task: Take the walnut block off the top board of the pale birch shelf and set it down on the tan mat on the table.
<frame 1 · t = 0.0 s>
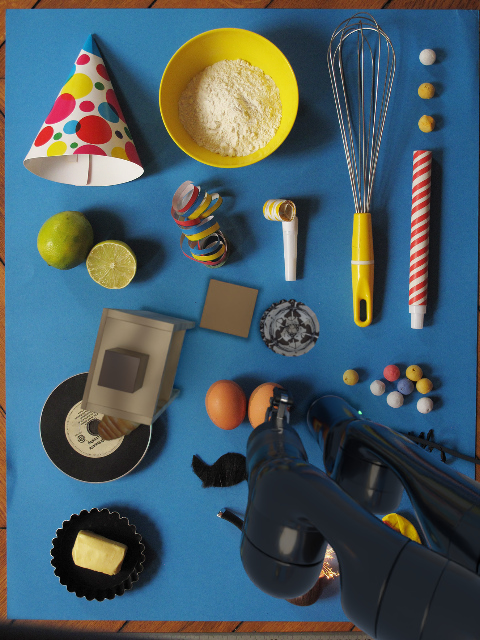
hand: (270, 425, 68), 17 cm above the table, tool pointing down, fingers open, 8 cm apart
pastry: (123, 418, 86), on the table
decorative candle: (280, 325, 85), on the table
mat: (229, 308, 85), on the table
block: (129, 367, 62), point 24 cm above the table, touching shelf
shelf: (163, 353, 86), on the table
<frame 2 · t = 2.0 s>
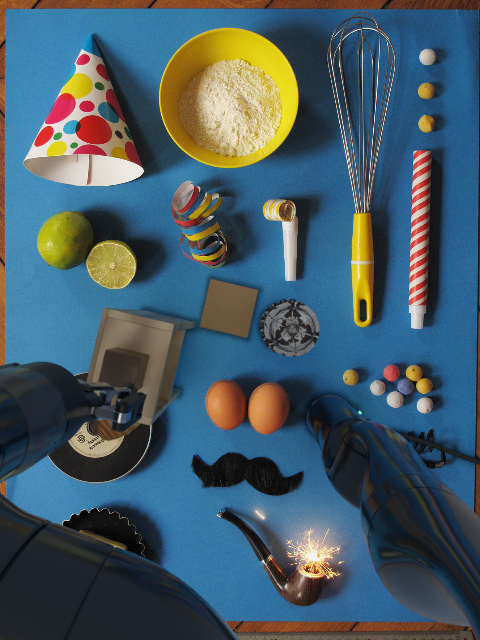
hand: (93, 382, 47), 38 cm above the table, tool pointing down, fingers open, 8 cm apart
nothing on the table moved.
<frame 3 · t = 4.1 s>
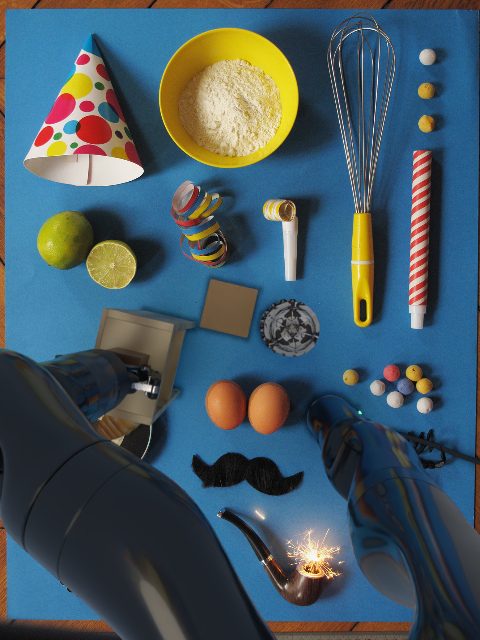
hand: (129, 367, 61), 24 cm above the table, tool pointing down, fingers closed on block, 5 cm apart
block: (129, 367, 62), point 24 cm above the table, touching gripper, shelf
everything else where it was.
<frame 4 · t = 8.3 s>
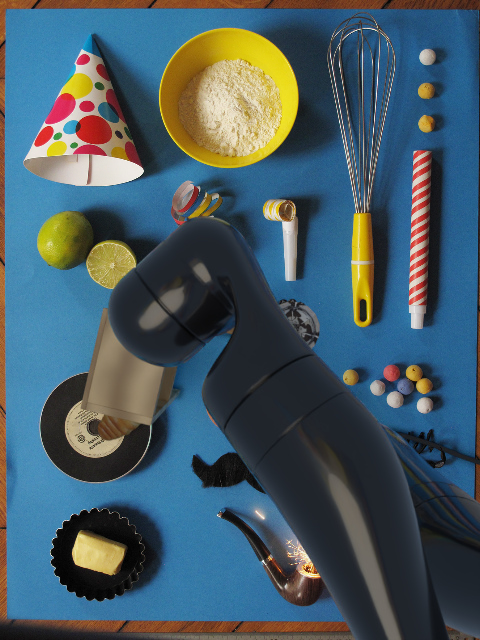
hand: (220, 305, 61), 24 cm above the table, tool pointing down, fingers closed on block, 5 cm apart
block: (220, 305, 62), point 24 cm above the table, touching gripper
everything else where it was.
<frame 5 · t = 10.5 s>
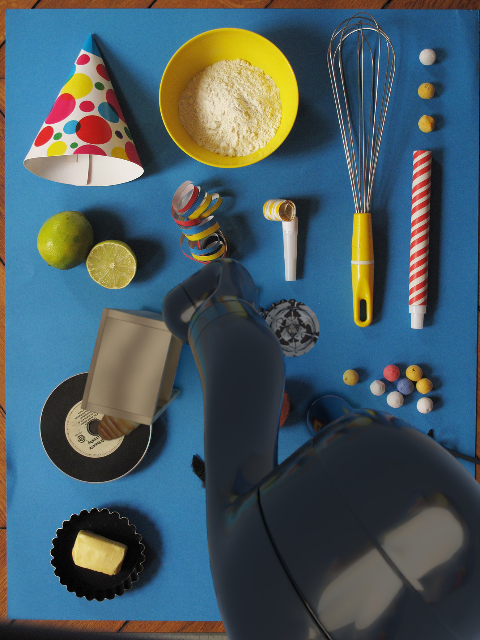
hand: (226, 307, 79), 6 cm above the table, tool pointing down, fingers closed on block, 5 cm apart
block: (226, 307, 79), point 6 cm above the table, touching gripper
everything else where it was.
when the fingers open (1 cm above the table, at t = 12.3 s): block stays where it is, resting on mat.
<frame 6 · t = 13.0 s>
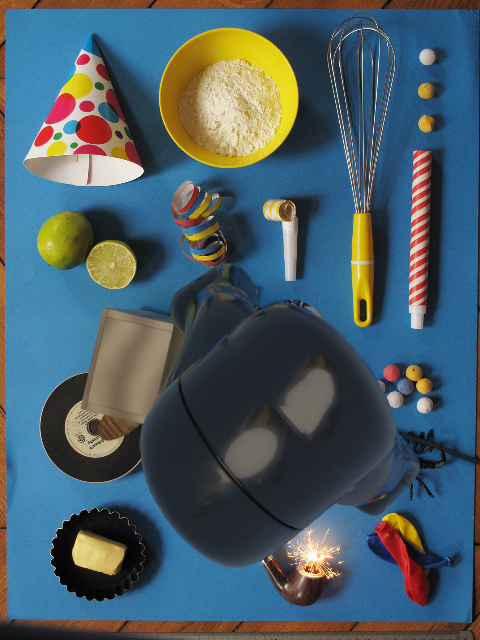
hand: (228, 308, 83), 2 cm above the table, tool pointing down, fingers open, 8 cm apart
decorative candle: (280, 325, 85), on the table, touching hand
block: (228, 308, 85), resting on mat
everything else where it was.
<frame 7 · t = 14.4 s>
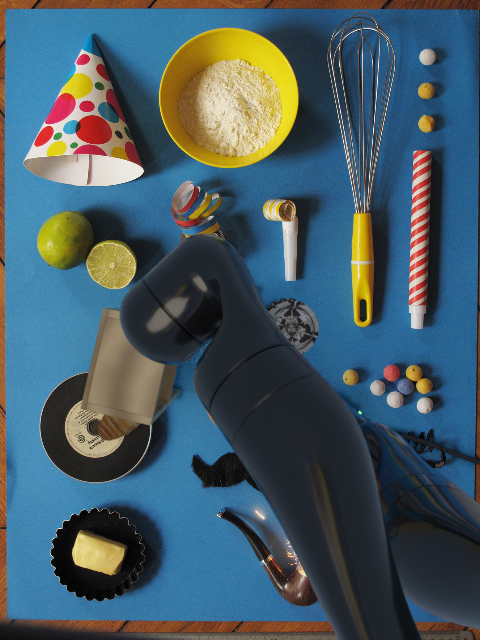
hand: (221, 310, 65), 21 cm above the table, tool pointing down, fingers open, 8 cm apart
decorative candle: (279, 324, 85), on the table
everything else where it was.
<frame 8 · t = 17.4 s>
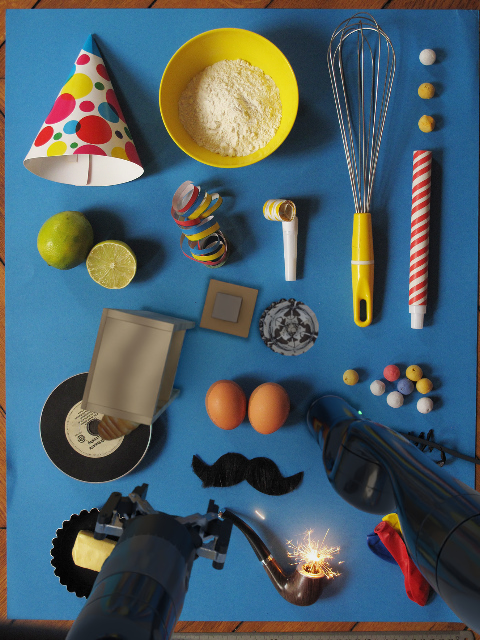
hand: (177, 498, 53), 33 cm above the table, tool pointing down, fingers open, 8 cm apart
nothing on the table moved.
at the end: block inside the target area on the mat (0.2 cm from its centre), point 0.4 cm above the mat's base; block tilted 0°; block touching mat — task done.
